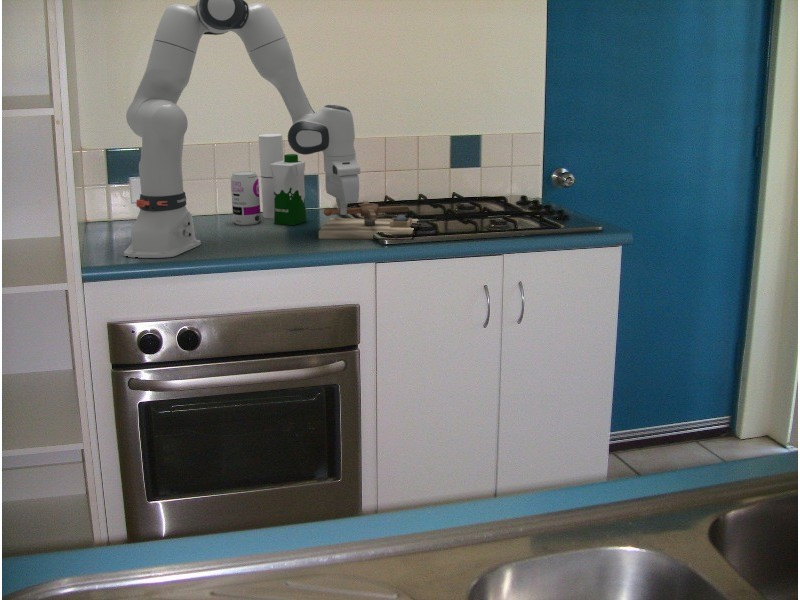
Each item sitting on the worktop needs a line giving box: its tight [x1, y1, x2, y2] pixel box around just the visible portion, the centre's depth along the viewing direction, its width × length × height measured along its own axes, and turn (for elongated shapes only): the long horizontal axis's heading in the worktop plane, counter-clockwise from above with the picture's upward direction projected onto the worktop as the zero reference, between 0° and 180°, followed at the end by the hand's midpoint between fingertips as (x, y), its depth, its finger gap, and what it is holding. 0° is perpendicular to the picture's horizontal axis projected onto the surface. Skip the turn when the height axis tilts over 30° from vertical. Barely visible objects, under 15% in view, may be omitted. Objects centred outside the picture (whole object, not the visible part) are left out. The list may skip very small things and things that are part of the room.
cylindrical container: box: [258, 133, 284, 220], centre depth 282 cm, size 7×7×25 cm
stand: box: [318, 217, 419, 240], centre depth 261 cm, size 18×26×4 cm
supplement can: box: [230, 170, 262, 226], centre depth 274 cm, size 8×8×15 cm
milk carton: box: [270, 153, 307, 226], centre depth 273 cm, size 9×9×20 cm
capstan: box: [323, 200, 409, 220], centre depth 260 cm, size 22×24×3 cm
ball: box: [395, 214, 407, 221], centre depth 260 cm, size 3×3×3 cm
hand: (342, 214), depth 257 cm, fingers closed
